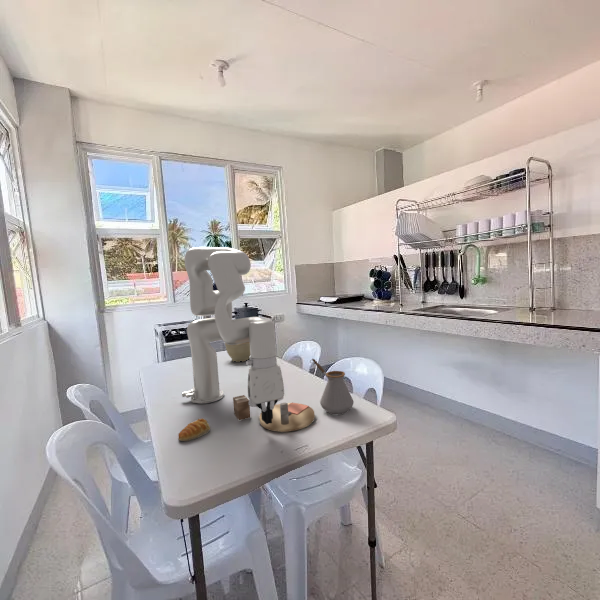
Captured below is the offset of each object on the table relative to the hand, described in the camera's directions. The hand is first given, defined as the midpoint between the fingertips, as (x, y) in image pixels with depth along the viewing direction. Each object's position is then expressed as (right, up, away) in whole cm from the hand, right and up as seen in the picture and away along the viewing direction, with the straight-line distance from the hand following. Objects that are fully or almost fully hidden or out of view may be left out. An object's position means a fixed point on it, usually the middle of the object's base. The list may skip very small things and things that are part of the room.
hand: (267, 421), depth 97 cm
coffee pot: (+20, -2, +19) cm, 28 cm away
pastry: (-22, -5, +3) cm, 23 cm away
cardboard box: (-10, -3, +14) cm, 18 cm away
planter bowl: (-24, +2, +89) cm, 92 cm away
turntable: (+6, -3, +10) cm, 12 cm away
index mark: (+1, -2, +19) cm, 20 cm away
